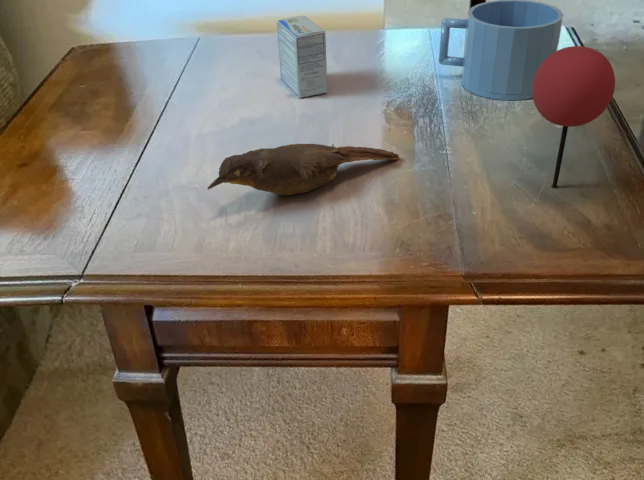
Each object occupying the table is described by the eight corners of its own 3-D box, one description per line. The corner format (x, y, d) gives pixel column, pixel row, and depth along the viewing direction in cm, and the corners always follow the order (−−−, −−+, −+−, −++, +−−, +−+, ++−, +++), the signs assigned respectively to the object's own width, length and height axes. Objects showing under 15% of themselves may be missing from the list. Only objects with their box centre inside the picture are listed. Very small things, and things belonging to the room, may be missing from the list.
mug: (556, 71, 110) (568, 3, 104) (544, 104, 101) (556, 31, 95) (447, 61, 114) (452, -5, 109) (427, 92, 106) (431, 21, 100)
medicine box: (328, 93, 107) (326, 30, 101) (298, 99, 105) (295, 35, 100) (308, 75, 112) (306, 14, 107) (279, 80, 111) (276, 19, 106)
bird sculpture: (408, 184, 90) (415, 144, 87) (220, 218, 78) (221, 172, 75) (375, 165, 95) (380, 126, 92) (191, 195, 82) (191, 150, 80)
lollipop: (605, 194, 82) (639, 55, 73) (543, 209, 80) (569, 67, 71) (563, 164, 88) (589, 31, 78) (505, 177, 86) (524, 42, 76)
